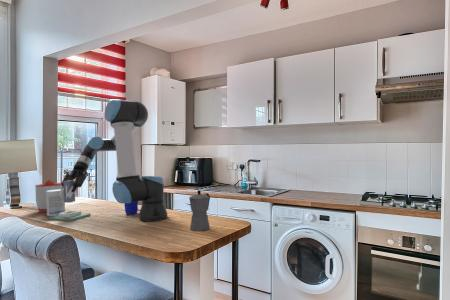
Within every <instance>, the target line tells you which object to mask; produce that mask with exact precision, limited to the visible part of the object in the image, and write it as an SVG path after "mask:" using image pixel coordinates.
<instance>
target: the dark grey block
mask: <svg viewBox="0 0 450 300" xmlns="http://www.w3.org/2000/svg"><path fill="white" fill-rule="evenodd" d="M62 181H63V180H62ZM74 183H75V179H74V180H68V181H63V187H64V202H65V203H73V202H74V203H75V202H76V191H75V192H74V193H73V194H72V196H71V198H69V197H68V196H67V194H68V192H69V190H70V189H71V187H72V186H74V185H73V184H74Z"/></svg>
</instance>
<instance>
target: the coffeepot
mask: <svg viewBox="0 0 450 300" xmlns="http://www.w3.org/2000/svg"><path fill="white" fill-rule="evenodd" d="M196 191H197V194H193V195H190V196H189V197H188V199H189V204H190V205H189V206H190V211H191V213H192V215H191V220H190V228H189V229H190V231H193V232H197V233H198V232H206V231H208V230H210V223H209V216H208V214H207V213H208V210H209V206H210V201H211V196H210V194H209V193H203V194H201V190H199V189H198V190H196Z"/></svg>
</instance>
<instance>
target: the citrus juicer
mask: <svg viewBox="0 0 450 300" xmlns="http://www.w3.org/2000/svg"><path fill="white" fill-rule="evenodd" d="M61 183H62V182H54V181H52V179H48V180H47V181H45V183H40V184H35V185H34V187H35V201H36V202H35V204H36V208H37V210H38V211H39V212H40V213H42V214H43V213H44V214H45V213H46V214H47V207H46V191H49V190H58V189H62V185H61Z"/></svg>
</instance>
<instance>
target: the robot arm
mask: <svg viewBox="0 0 450 300" xmlns="http://www.w3.org/2000/svg"><path fill="white" fill-rule="evenodd" d="M104 118H105V120H106V122H109V123H110V127H111V128H112V129H113V132H114V135H113V136H112V138H103V137H101V136H99V135H93V136H92V137H91V138H90V139H89V141H88V142H87V144H86V145H85V146H84V148H83V150H82V152H81V153H80V156H79V157H78V159H77V161H76V162H75V164H74V165H73V169H72V170H71V171H66V172H65V175H64V178H63V180H62V181H61V182H60V183H61V185H62V189H61V192H60V194H59V196H60V197H61V198H63V196H64V187H63V181H68V180H74V181H75V183H74V184H73V185H74V186H72V187H71V189H70V190H69V192H68V194H67V196H68V197H69V198H71V196H72V194H73V193H74V192H75V193H76V191H77V189H78V188H81V187H83V184H84V183H85V181H86V179H87V177H88V176H89V175H90V174H89V173H88V169H89V167H90V165H91V163H92V161H93V160H94V158H95V156H96V155H97V154H98V152H116V160H117V161H116V162H117V169H118V175H116V177H115V181H114V182H113V184H112V188H111V189H112V195H113V197H114V199H115V201H116V202H117V203H119V204H124V203H132V202H138V203H139V202H141V207H140V209H141V210H140V209H139V210H140V211H139V214H138V219H139V221H143V222H156V221H162V220H165V219H167V218H168V211H167V208H166V205H165V199H164V198H165V190H164V189H165V188H164V186H165V185H164V184H165V183H164V178H163V177H162V176H156V175H154V176H153V175H141V177H140V174H139V173H138V172H137V168H136V167H137V166H136V159H135V151H134V142H133V134H134V133H135V132H136V131H137V130H138V129H139V128H141V127H143V126H144V125H145V124H146V123H147V121H148V118H149V111H148V109H147V107H146V106H145V104H143V103H142V102H140V101H137V100H136V101H135V100H126V99H119V98H118V99H113V98H112V99H110V100H109V101H108V102H107V103H106V106H105V109H104Z"/></svg>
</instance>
